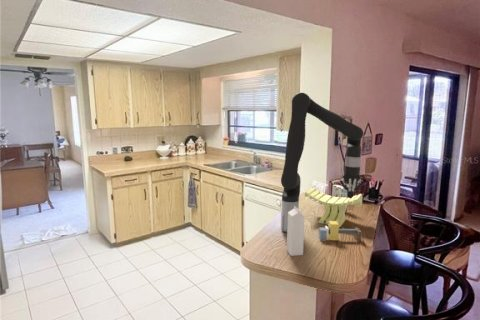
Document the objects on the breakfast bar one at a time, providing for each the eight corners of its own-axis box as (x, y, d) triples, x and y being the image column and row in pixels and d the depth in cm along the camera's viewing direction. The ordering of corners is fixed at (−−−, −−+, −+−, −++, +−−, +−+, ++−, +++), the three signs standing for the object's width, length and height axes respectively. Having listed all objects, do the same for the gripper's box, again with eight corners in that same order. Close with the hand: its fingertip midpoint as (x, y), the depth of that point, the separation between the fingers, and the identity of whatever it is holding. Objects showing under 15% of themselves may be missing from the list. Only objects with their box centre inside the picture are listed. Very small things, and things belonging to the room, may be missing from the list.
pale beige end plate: (326, 236, 154) (326, 228, 153) (324, 233, 158) (324, 225, 157) (328, 236, 154) (328, 228, 153) (326, 233, 158) (326, 225, 157)
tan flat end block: (357, 242, 153) (358, 231, 152) (353, 237, 159) (354, 227, 158) (360, 242, 153) (361, 231, 152) (356, 237, 158) (357, 227, 158)
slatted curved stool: (360, 221, 182) (362, 192, 180) (355, 229, 169) (357, 199, 166) (312, 212, 198) (313, 186, 195) (304, 219, 185) (305, 191, 182)
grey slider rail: (321, 233, 155) (321, 229, 155) (320, 231, 157) (320, 228, 156) (360, 233, 154) (360, 230, 154) (359, 232, 156) (359, 229, 156)
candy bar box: (347, 212, 199) (348, 188, 197) (340, 212, 198) (342, 188, 195) (337, 207, 210) (338, 184, 207) (330, 207, 208) (332, 184, 206)
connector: (320, 240, 154) (320, 230, 153) (318, 237, 158) (319, 227, 157) (326, 240, 154) (326, 230, 153) (324, 237, 158) (324, 227, 157)
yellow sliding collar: (330, 240, 154) (330, 224, 152) (327, 236, 158) (328, 221, 157) (338, 240, 154) (338, 224, 152) (335, 236, 158) (336, 221, 157)
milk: (298, 249, 144) (300, 205, 141) (303, 255, 138) (305, 209, 135) (286, 250, 143) (287, 205, 140) (290, 256, 138) (292, 209, 134)
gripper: (341, 166, 151) (339, 199, 154) (368, 166, 150) (365, 200, 153) (337, 163, 158) (335, 195, 161) (363, 164, 158) (360, 196, 161)
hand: (349, 197), depth 157 cm, fingers closed
